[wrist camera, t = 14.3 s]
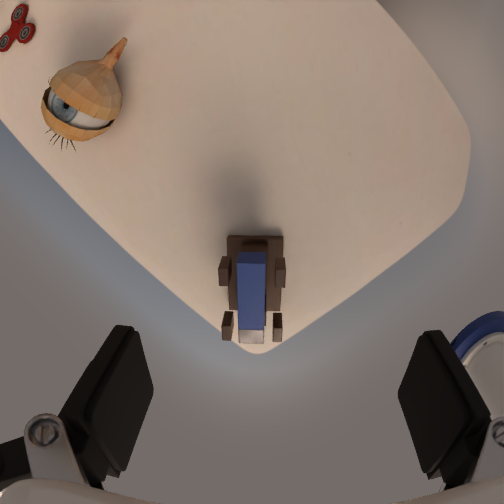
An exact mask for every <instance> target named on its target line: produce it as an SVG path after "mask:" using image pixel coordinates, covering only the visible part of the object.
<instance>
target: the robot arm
mask: <svg viewBox="0 0 504 504" xmlns="http://www.w3.org/2000/svg"><path fill="white" fill-rule="evenodd" d="M152 396H153V384H152V380H151V377H150V373H149V370H148V366H147V362H146V359H145V355H144V351H143V347H142V343H141V339H140V335H139V333H138V332H137V331H135V330H134V328H133V327H132V326H123V325H116V326H115V327H114V328H113V330H112V331H111V333H110V334H109V336H108V337H107V339H106V340H105V342H104V343H103V345H102V347H101V348H100V350H99V351H98V353H97V354H96V356H95V358H94V359H93V360H92V361H91V362H90V363H89V365H88V367H87V368H86V370H85V371H84V373H83V375H82V376H81V378H80V379H79V381H78V383H77V384H76V386H75V388H74V389H73V391H72V393H71V394H70V396H69V398H68V399H67V401H66V403H65V404H64V406H63V408H62V410H61V411H60V413H59V415H58V416H56V415H53V414H48V413H45V414H39V415H37V416H35V417H33V418H32V419H31V420H30V421H29V422H28V423H27V424H26V426H25V429H24V436H23V437H20V438H17V439H14V440H11V441H8V442H5V443H2V444H0V504H160V503H155V502H149V501H145V500H141V499H136V498H132V497H127V496H123V495H120V494H116V493H112V492H108V490H107V488H106V486H105V484H104V482H103V481H105V478H106V475H110V476H113V477H117V478H119V475H120V472H121V471H125V470H126V468H127V465H128V462H129V460H130V456H131V454H132V451H133V448H134V445H135V443H136V440H137V437H138V434H139V431H140V429H141V426H142V423H143V421H144V418H145V415H146V412H147V410H148V406H149V404H150V402H151V399H152ZM398 399H399V402H400V404H401V408H402V411H403V413H404V416H405V419H406V422H407V425H408V428H409V430H410V434H411V437H412V440H413V443H414V447H415V450H416V453H417V456H418V459H419V463H420V466H421V469H422V471H423V473H426V474H427V476H428V480H430V479H434V478H437V477H441V476H442V478H443V484H442V486H441V488H440V490H439V492H438V493H434V494H431V495H427V496H423V497H419V498H415V499H411V500H407V501H402V502H398V503H393V504H504V332H494V333H491V334H489V335H487V336H485V337H483V338H482V339H480V340H479V341H477V342H476V343H475V344H474V345H473V346H472V347H471V348H470V349H469V350H468V351H467V352H466V354H465V355H464V356H463V358H462V359H461V361H460V359H459V357H458V356H457V354H456V353H455V351H454V349H453V348H452V346H451V345H450V343H449V342H448V340H447V338H446V337H445V336H444V334H443V332H442V331H441V330H431V331H425V332H424V333H423V335H421V336H420V337H419V338H418V340H417V343H416V346H415V349H414V352H413V354H412V357H411V360H410V362H409V365H408V368H407V370H406V372H405V375H404V377H403V380H402V382H401V385H400V387H399V390H398Z"/></svg>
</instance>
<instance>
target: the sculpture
mask: <svg viewBox="0 0 504 504" xmlns="http://www.w3.org/2000/svg"><path fill="white" fill-rule="evenodd" d="M126 44H127V39H126V37H123V38H122V39H121V40H120V41H119V42H118V43H117V44H116V45H115V46H114V47H113V48H112V49H111V50H110V51H109V52H108V53H107V54H106V55H105V56H104V58H103V59H101V60H94V61H78V62H76V63H74V64H72V65H70V66H68V67H66V68H64V69H61V70H59V71H58V72H57V73H56V74H55V76H54V77H53V78H52V79H51V81H50V84H49V85H50V87H49V88H48V89H46V90H45V93H44V96H43V99H42V105H41V110H42V114H43V117H44V119H45V122H46V124H47V125H48V126H49V127H50V129H51V130H52V131H53V133H56V134H55V135H57V134H58V135H59V137H60V136H62V137H63V138H66V139H70V141H71V140H74V141H83V142H84V141H87V140H89V139H91V138H93V137H96V136H98V135H100V134H102V133H104V132H105V131H106V130H107V129H108V128H109V127H110V125H111V124H112V123H113V121H114V120H115V118H116V117H117V116H118V113H119V111H120V108H121V106H122V93H121V90H120V87H119V85H118V82H117V80H116V77H115V74H114V71H113V67H114V65H115V64H116V62H117V61H118V60H119V57H120V55H121V53H122V51H123V49H124V47H125V45H126ZM49 78H50V77H49ZM48 82H49V81H48ZM49 131H50V130H49ZM47 132H48V131H47ZM55 135H54V136H55ZM54 136H53V137H54ZM53 137H52V138H53ZM59 137H58V138H59ZM58 138H57V139H58ZM63 138H62V142H63ZM51 140H52V139H51ZM56 141H57V140H56ZM56 141H55V142H56ZM55 142H54V143H55ZM71 143H72V141H71ZM67 144H68V140H67ZM72 145H73V143H72ZM73 147H74V146H73ZM66 148H67V147H66ZM61 149H62V143H61ZM74 149H75V148H74ZM75 151H76V150H75Z"/></svg>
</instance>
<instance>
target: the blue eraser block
mask: <svg viewBox="0 0 504 504" xmlns="http://www.w3.org/2000/svg"><path fill="white" fill-rule="evenodd" d="M265 274H266V252H239V255H238V260H237V298H238V333H239V343H255V344H263V343H264V318H265Z"/></svg>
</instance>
